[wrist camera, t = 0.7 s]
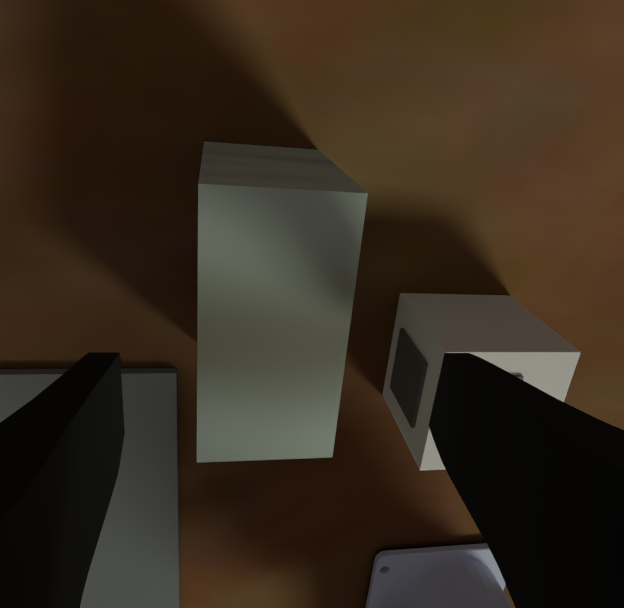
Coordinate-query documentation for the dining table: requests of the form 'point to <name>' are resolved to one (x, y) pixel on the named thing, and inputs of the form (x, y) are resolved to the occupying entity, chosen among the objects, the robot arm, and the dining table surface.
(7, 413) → the slate mat
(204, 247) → the pale green block
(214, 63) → the dining table surface
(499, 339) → the marked cube
